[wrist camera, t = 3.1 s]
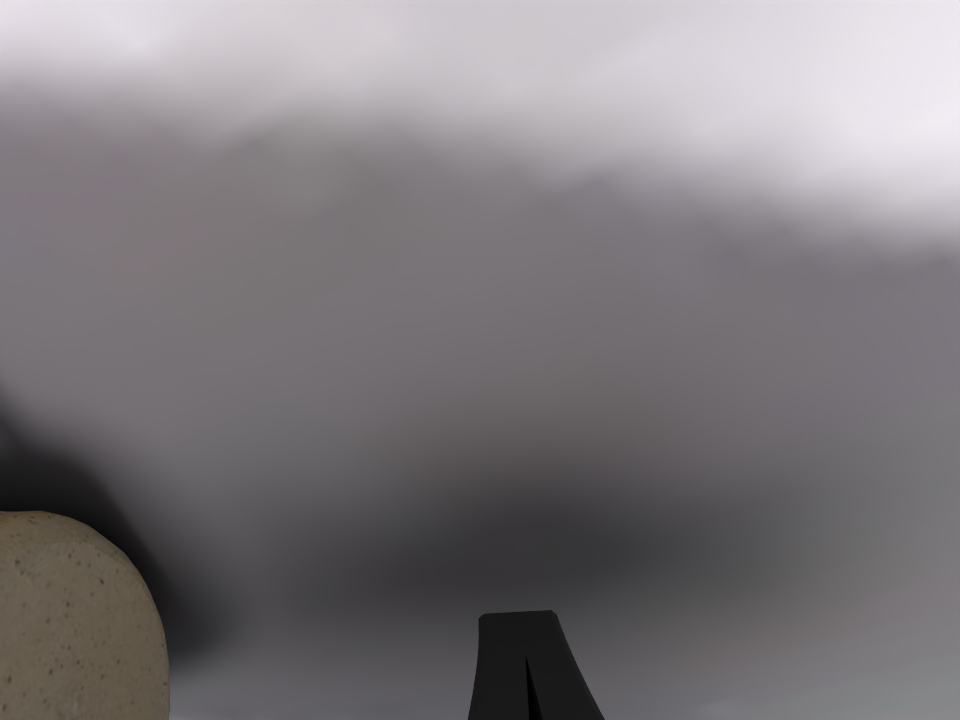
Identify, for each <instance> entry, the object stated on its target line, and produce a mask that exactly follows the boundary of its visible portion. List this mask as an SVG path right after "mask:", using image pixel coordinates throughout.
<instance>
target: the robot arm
mask: <svg viewBox="0 0 960 720" xmlns="http://www.w3.org/2000/svg"><path fill="white" fill-rule="evenodd" d="M468 720H605V719H604V717H603V715H602V714H601V712H600V710H599V708H598V706H597V704H596V702H595V700H594V698H593V696H592V695H591V693H590V691H589V689H588V687H587V685H586V682H585V680H584V678H583V676H582V674H581V672H580V670H579V668H578V666H577V664H576V661H575V659H574V657H573V655H572V653H571V650H570V648H569V646H568V643H567V641H566V638H565V636H564V633H563V631H562V628H561V626H560V623H559V620H558V617H557V614H555V613H554V612H553V611H551V610H547V611H528V612H509V613H489V614H484V615H482V616H481V617H480V618H479V647H478V659H477V668H476V675H475V682H474V689H473V695H472V701H471V706H470V711H469V716H468Z"/></svg>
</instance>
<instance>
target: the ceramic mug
mask: <svg viewBox="0 0 960 720" xmlns="http://www.w3.org/2000/svg"><path fill="white" fill-rule="evenodd" d="M169 711H170V688H169V660H168V653H167V646H166V640H165V633H164V629H163V625H162V622H161V618H160V615H159V613H158V611H157V608H156V606H155V603H154V601H153V598H152V596H151V594H150V591H149V589H148V587H147V585H146V583H145V581H144V580H143V578H142V576H141V575H140V573H139V571H138V570H137V569H136V567H135V566H134V565H133V563H132V562H131V561H130V560H129V558H128V557H127V556H126V555H125V553H124V552H123V551H121V550H120V549H119V548H118V547H116V546H115V545H114V544H113V543H111V542H110V541H109V540H107V539H106V538H105V537H103V536H102V535H101V534H100V533H98V532H97V531H96V530H94V529H93V528H91V527H90V526H88V525H86V524H84V523H82V522H79V521H77V520H75V519H72V518H70V517H66V516H62V515H58V514H54V513H49V512H45V511H21V512H5V511H0V720H169Z"/></svg>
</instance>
